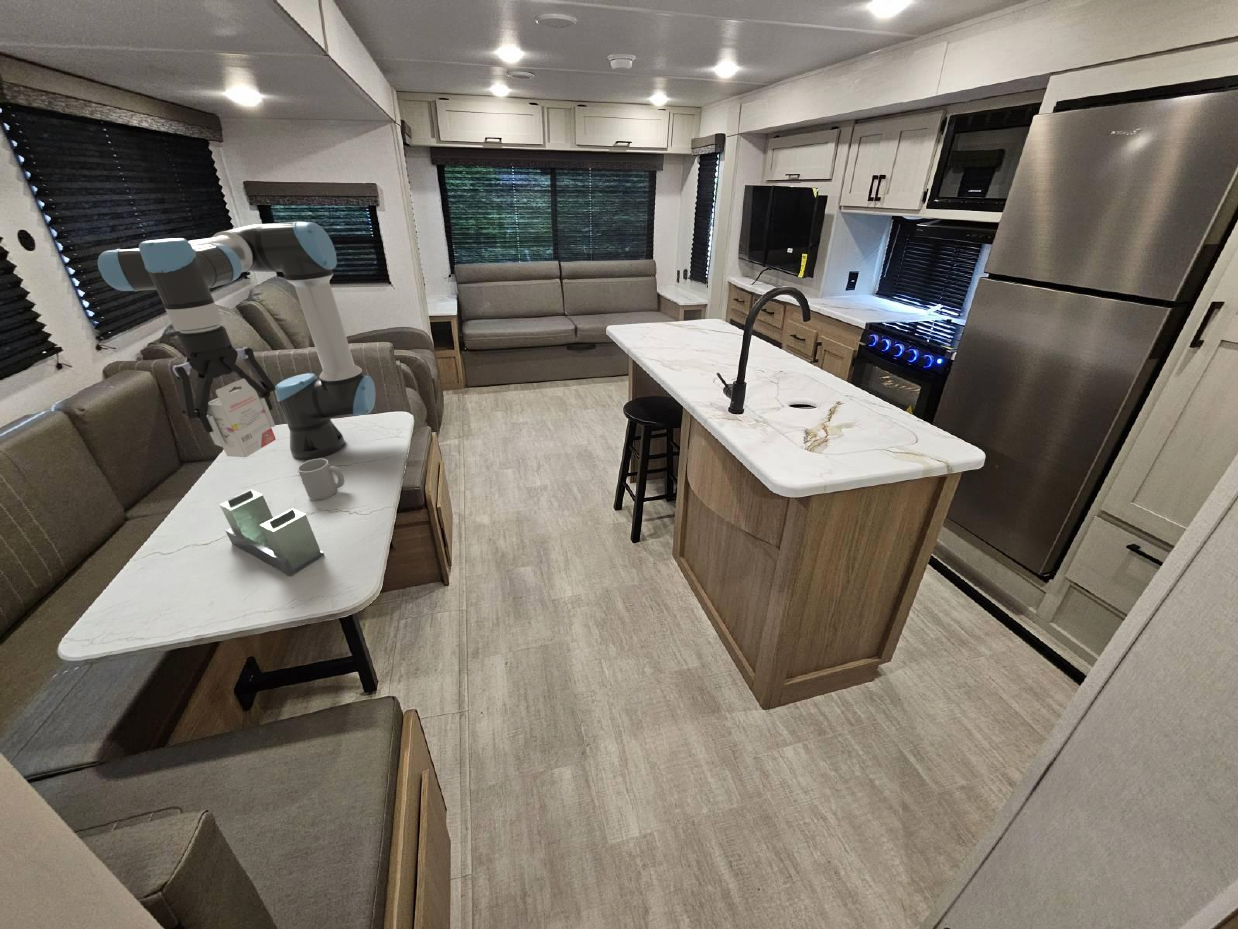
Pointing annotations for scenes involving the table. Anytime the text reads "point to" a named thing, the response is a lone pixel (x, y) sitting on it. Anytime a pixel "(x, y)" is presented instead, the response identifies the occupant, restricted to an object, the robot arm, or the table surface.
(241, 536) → the double block cradle
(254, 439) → the ink cartridge box
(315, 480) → the cup
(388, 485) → the table surface
